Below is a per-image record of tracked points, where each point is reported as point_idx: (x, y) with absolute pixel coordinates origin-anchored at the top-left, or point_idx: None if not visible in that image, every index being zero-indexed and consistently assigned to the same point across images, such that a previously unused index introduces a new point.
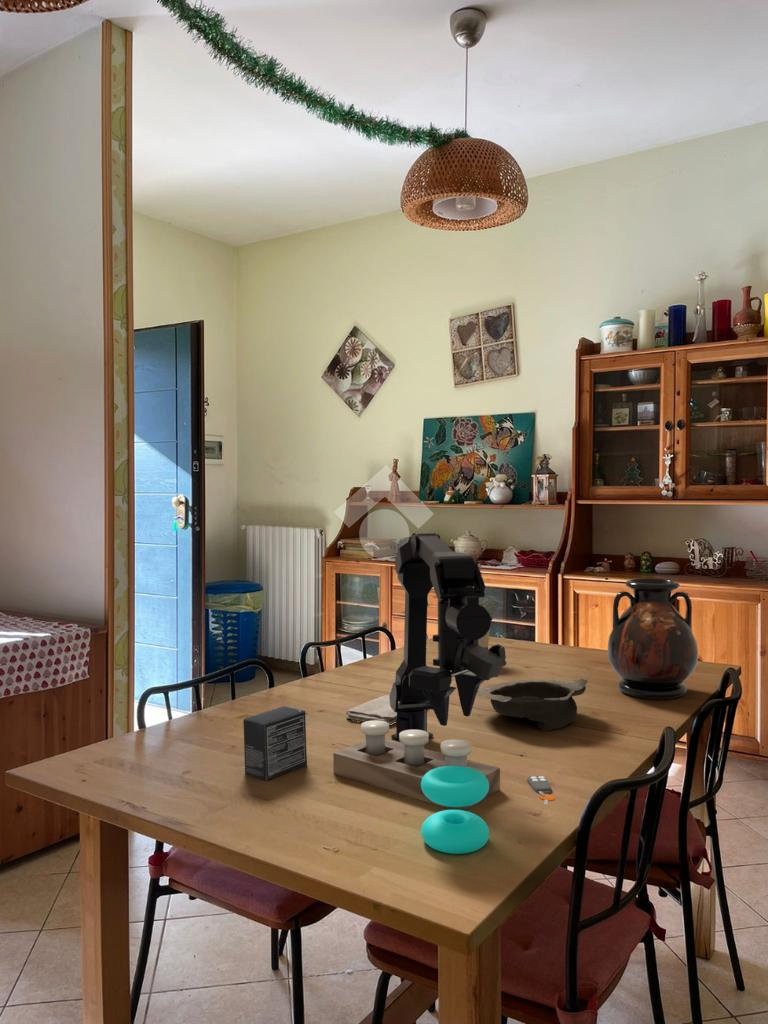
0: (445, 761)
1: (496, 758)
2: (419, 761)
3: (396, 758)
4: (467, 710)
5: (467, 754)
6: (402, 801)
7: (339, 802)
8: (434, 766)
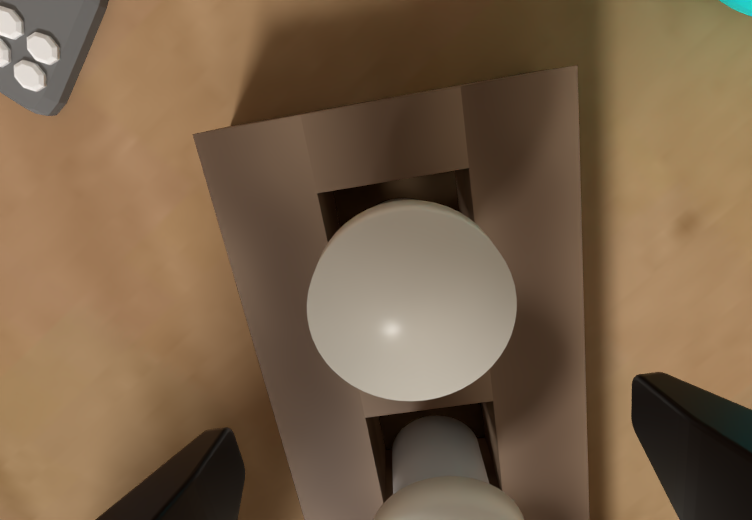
0: None
1: (13, 361)
2: (448, 430)
3: None
4: (213, 481)
5: (408, 201)
6: (600, 306)
7: None
8: None
